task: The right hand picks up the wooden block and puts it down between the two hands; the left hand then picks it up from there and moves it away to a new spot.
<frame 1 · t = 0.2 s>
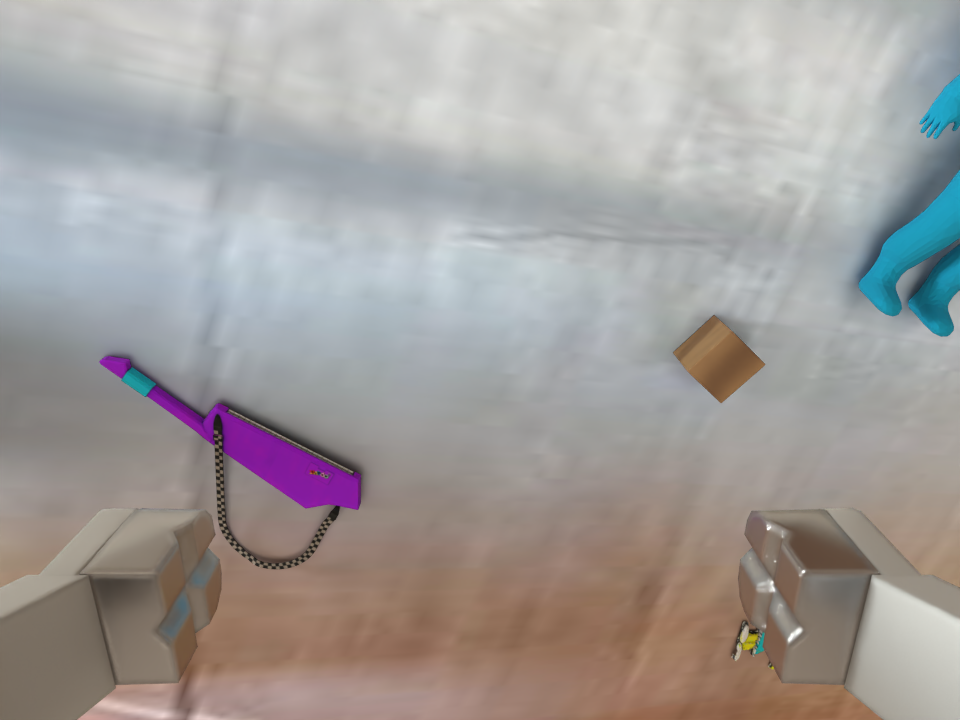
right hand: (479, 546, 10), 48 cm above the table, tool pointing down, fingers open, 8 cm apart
block: (709, 349, 60), on the table
toy 2: (810, 632, 71), on the table
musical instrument: (236, 471, 64), on the table
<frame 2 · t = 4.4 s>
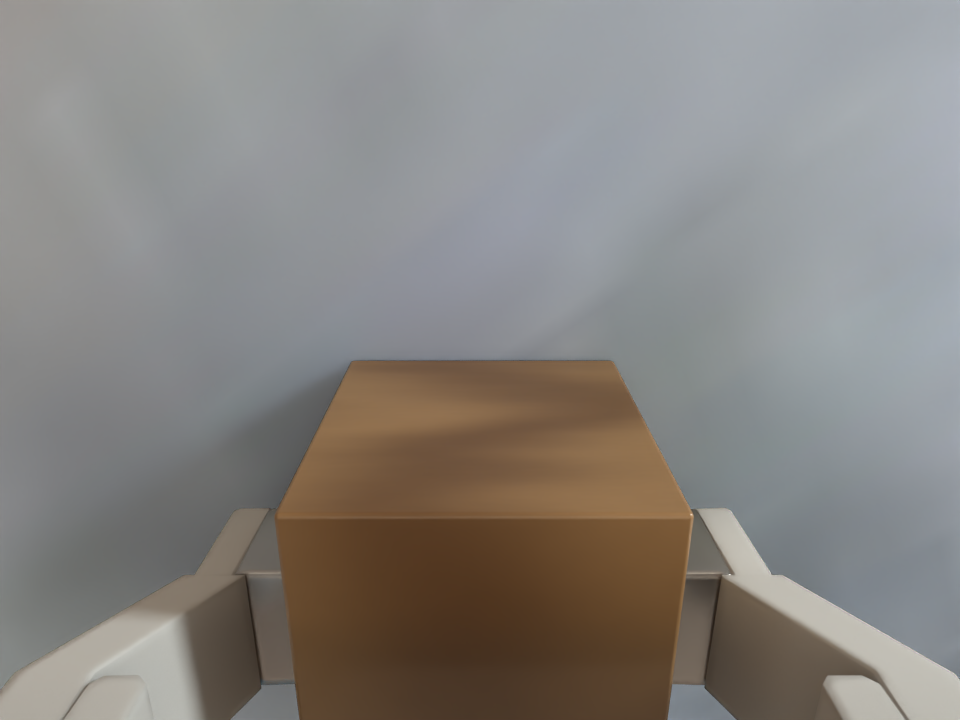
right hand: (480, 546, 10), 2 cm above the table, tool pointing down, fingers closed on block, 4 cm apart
block: (482, 485, 12), on the table, touching right hand
when the right hand's fingers open (3 cm above the table, at t = 11.1 s): block stays where it is, on the table.
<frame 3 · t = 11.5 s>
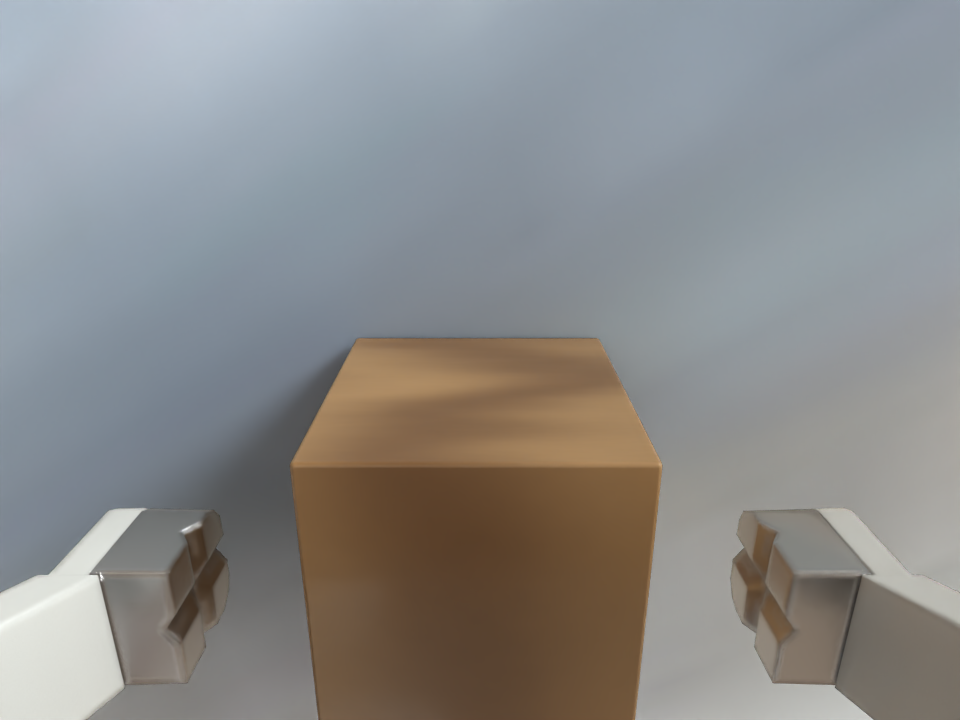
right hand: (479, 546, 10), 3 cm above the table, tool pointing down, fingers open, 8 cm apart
block: (477, 456, 13), on the table
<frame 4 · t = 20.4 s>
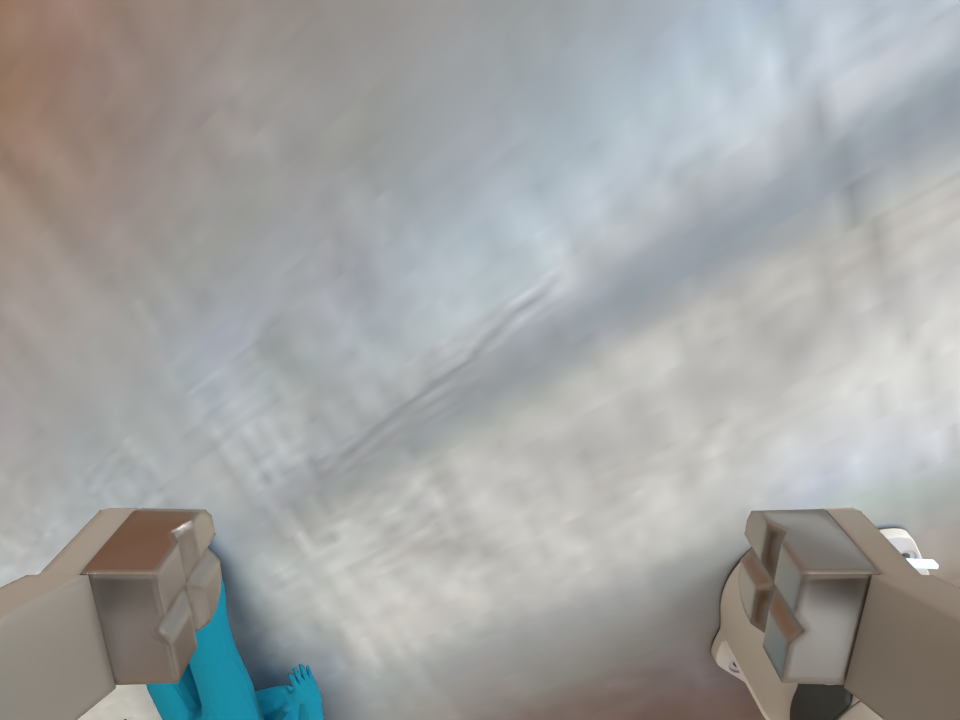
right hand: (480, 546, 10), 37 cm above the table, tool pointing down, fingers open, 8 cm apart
toy: (244, 663, 59), on the table
when the left hand's fingers open (1 cm above the table, at t = 28.7 s): block stays where it is, on the table.
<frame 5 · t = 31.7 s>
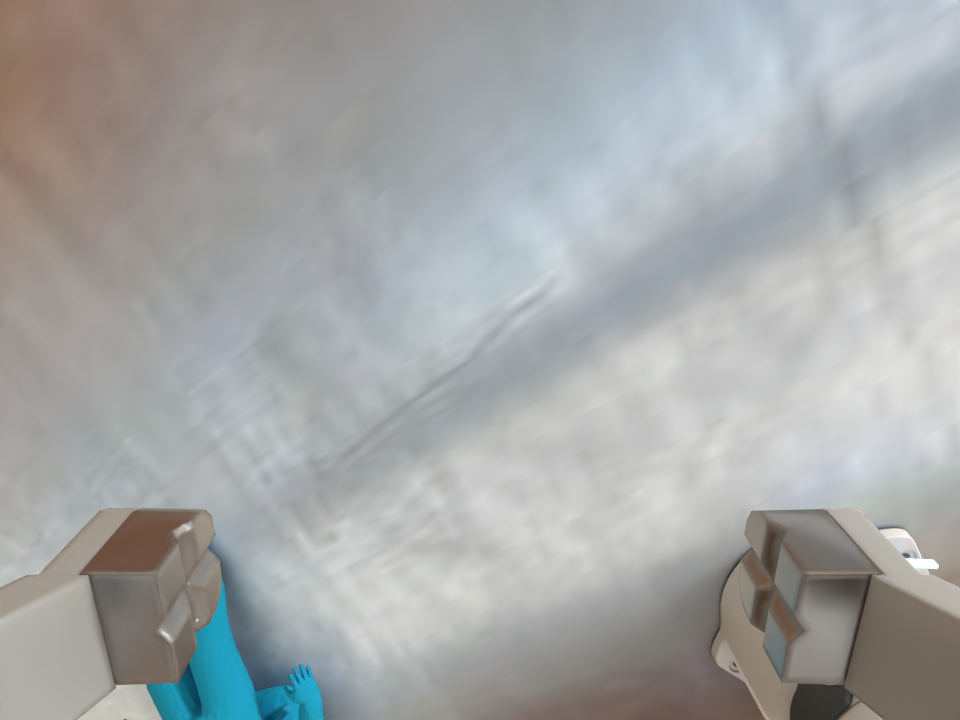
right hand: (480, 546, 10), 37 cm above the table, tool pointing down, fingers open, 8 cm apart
toy: (244, 663, 59), on the table
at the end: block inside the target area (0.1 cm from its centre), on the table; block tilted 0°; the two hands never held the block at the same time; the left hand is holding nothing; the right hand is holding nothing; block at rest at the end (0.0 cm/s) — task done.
